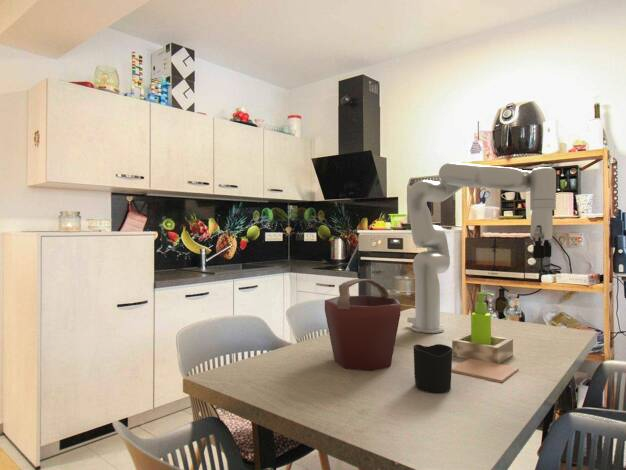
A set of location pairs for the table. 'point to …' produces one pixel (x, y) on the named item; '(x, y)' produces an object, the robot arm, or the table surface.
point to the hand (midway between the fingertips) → (542, 257)
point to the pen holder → (433, 368)
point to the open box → (483, 349)
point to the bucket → (362, 327)
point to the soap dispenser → (481, 321)
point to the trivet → (485, 370)
